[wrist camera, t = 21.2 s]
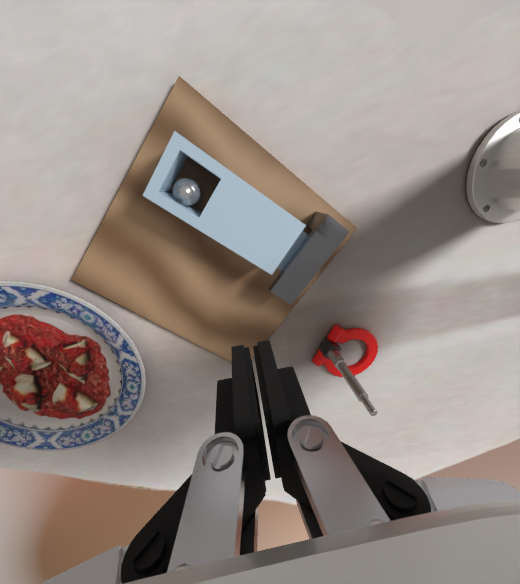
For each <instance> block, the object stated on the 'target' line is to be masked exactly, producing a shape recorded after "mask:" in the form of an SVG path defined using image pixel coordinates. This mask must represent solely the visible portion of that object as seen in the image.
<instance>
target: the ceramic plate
mask: <svg viewBox="0 0 520 584" xmlns="http://www.w3.org/2000/svg"><path fill="white" fill-rule="evenodd" d="M145 387H146V377H145V368H144V365H143V362H142V358H141V356H140V354H139V351H138V349H137V347H136V346H135V344H134V342H133V341H132V339H131V338H130V337H129V335H128V334H127V333H126V332H125V331H124V329H123V328H122V327H121V326H120V325H119V324H118V323H117V322H116V321H115V320H113V319H112V318H111V317H110V316H109V315H107V314H106V313H105V312H103V311H102V310H101V309H99V308H97V307H96V306H94V305H93V304H91V303H89V302H87V301H86V300H84V299H82V298H80V297H77V296H75V295H73V294H71V293H68V292H65V291H63V290H60V289H56V288H53V287H49V286H46V285H41V284H36V283H29V282H21V281H0V443H4V444H8V445H11V446H15V447H20V448H27V449H35V450H66V449H75V448H79V447H84V446H87V445H91V444H94V443H97V442H100V441H102V440H104V439H106V438H108V437H110V436H112V435H114V434H115V433H117V432H118V431H120V430H121V429H122V428H123V427H125V426H126V425H127V424H128V423H129V422H130V421H131V419H132V418H133V417H134V415H135V414H136V413H137V411H138V409H139V407H140V405H141V403H142V400H143V397H144V393H145Z"/></svg>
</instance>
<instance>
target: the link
mask: <svg viewBox="0 0 520 584" xmlns="http://www.w3.org/2000/svg"><path fill="white" fill-rule="evenodd" d="M188 157H189V158H191V159H192V160H194V161H195V162H196V163H198V164H199V165H201V166H202V167H204V168H205V169H206V170H208V171H209V172H211V173H212V174H214V175H215V176H216V177H218V178H219V179H221V180H220V182H219V184H218V185H217V187H216V189H215V191H214V192H213V194H212V196H211V198H210V199H209V201H208V203H207V205H206V206H205V208H204V210H203V212H201V211H199V210H198V209H196V208H195V207H193V206H192V205H190V206H185V205H182V204H180V203H178V202H177V201H176V199H175V198H174V195H173V193H171V192H170V190H171V189H172V187H173V185H174V183H175V181H176V179H177V177H178V175H179V173H180V171H181V169H182V167H183V166H184V164H185V162H186V160H187V158H188ZM143 196H144V197H146V198H147V199H149V200H151V201H152V202H154V203H155V204H157V205H159V206H160V207H162V208H164V209H165V210H167V211H168V212H170V213H172V214H173V215H175V216H177V217H178V218H180V219H181V220H183V221H185V222H186V223H188V224H190V225H191V226H193V227H194V228H196V229H198V230H199V231H201V232H203V233H204V234H206V235H207V236H209V237H211V238H212V239H214V240H216V241H217V242H219V243H220V244H222V245H224V246H225V247H227V248H229V249H230V250H232V251H234V252H235V253H237V254H238V255H240V256H242V257H243V258H245V259H247V260H248V261H250V262H251V263H253V264H255V265H256V266H258V267H260V268H261V269H263V270H264V271H266V272H268V273H269V274H271V275H272V274H273V273H274V271H275V270H276V268H278V269H280V270H281V271H282V269H283V268H284V267H285V265H286V264H287V263H288V261H289V260H290V259H291V257H292V256H293V255H294V254H295V252H296V251H297V250H298V248H299V247H300V246H301V244H302V243H303V242H304V240H305V239H306V238H307V236H308V234H307V233H305V232H304V231H303V229H304V228H305V226H306V225H305V224H304V223H302V222H301V221H299V220H298V219H297V218H295V217H294V216H292V215H291V214H290V213H288V212H287V211H285V210H284V209H283V208H281V207H280V206H279V205H277V204H276V203H274V202H273V201H272V200H270V199H269V198H267V197H266V196H265V195H263V194H262V193H260V192H259V191H258V190H256V189H255V188H253V187H252V186H251V185H249V184H248V183H247V182H245V181H244V180H242V179H241V178H240V177H238V176H237V175H235V174H234V173H233V172H231V171H230V170H228V169H227V168H226V167H224V166H223V165H222V164H220V163H219V162H217V161H216V160H215V159H213V158H212V157H210V156H209V155H208V154H206V153H205V152H203V151H202V150H201V149H199V148H198V147H196V146H195V145H194V144H192V143H191V142H190V141H188V140H187V139H185V138H184V137H183V136H181V135H180V134H178V133H177V132H176V131H174V133H173V135H172V137H171V139H170V141H169V143H168V145H167V147H166V149H165V151H164V153H163V155H162V157H161V159H160V161H159V163H158V165H157V167H156V169H155V171H154V173H153V175H152V177H151V179H150V181H149V183H148V186H147V188H146V190H145V192H144V194H143Z"/></svg>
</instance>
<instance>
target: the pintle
mask: <svg viewBox="0 0 520 584" xmlns="http://www.w3.org/2000/svg"><path fill="white" fill-rule="evenodd" d="M202 194H203V191H202V188H201V186H200V184H199V183H198V182H196V181H194V180H191V179H187V178H182V179H179V180H178V181H176V182H175V184H174V186H173V195H174V198H175V199H176V201H177V202H178V203H180V204H182V205H185V206H190V205H193V204H195V203H197V202H199V201H200V199H201V198H202Z"/></svg>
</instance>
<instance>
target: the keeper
mask: <svg viewBox="0 0 520 584" xmlns="http://www.w3.org/2000/svg"><path fill="white" fill-rule="evenodd" d="M306 227H307V228H308V229H310V230H311V233H310V234H309V235H308V236H307V238H306V239H305V240H304V242H303V243H302V244H301V246H300V247H299V248H298V250H297V251H296V252H295V254H294V255H293V256H292V257H291V259H290V260H289V261H288V263H287V264H286V265H285V267H284V268H283V269H282V271H281V272H280V273H279V275H278V276H277V277H276V279H275V280H274V281H273V282H272V284H271V285H270V286H269V290H270V292H271V293H273V294H275V295H276V296H278V297H279V298H281V299H282V300H284V301H285V302H287V303H288V304H290V305H291V304H292V303H293V302H294V301H295V300H296V298H297V297H298V296H299V295H300V293H301V292H302V291H303V290H304V288H305V287H306V286H307V285H308V283H309V282H310V281H311V280H312V278H313V277H314V276H315V275H316V273H317V272H318V271H319V270H320V268H321V267H322V266H323V265H324V263H325V262H326V261H327V260H328V258H329V257H330V256H331V255H332V253H333V252H334V251H335V250H336V248H337V247H338V246H339V245H340V243H341V242H342V241H343V240H344V239H345V237H346V236H347V235H348V234H349V231H348V230H347V229H346V228H344V227H343V226H342V225H341V224H340V223H338V222H337V221H336V220H335V219H334V218H332V217H331V216H330V215H328V214H324V213H320V212H317V211H316V212H315V213H314V214H313V216H312V217H311V218H310V220H309V221H308V222H307V224H306Z"/></svg>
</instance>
